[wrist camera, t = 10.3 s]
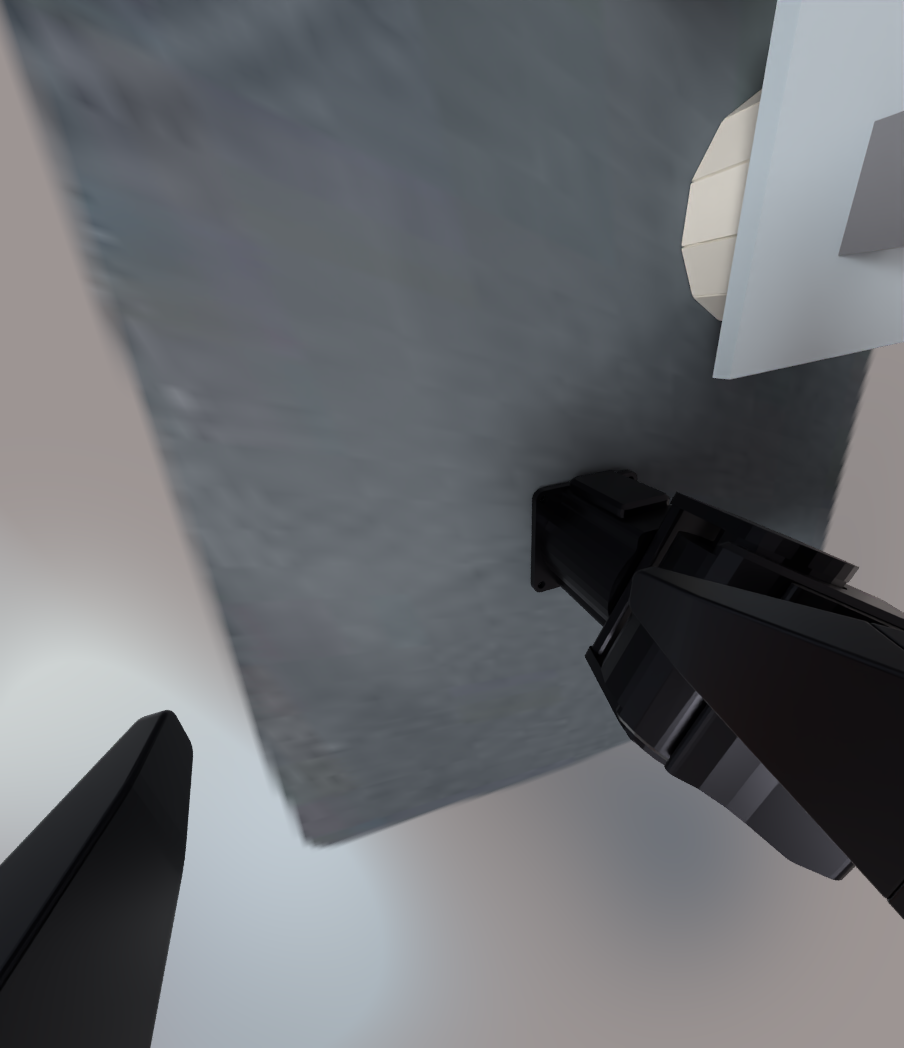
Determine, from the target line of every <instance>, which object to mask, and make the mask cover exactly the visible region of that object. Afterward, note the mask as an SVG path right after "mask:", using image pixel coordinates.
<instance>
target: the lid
mask: <svg viewBox="0 0 904 1048" xmlns="http://www.w3.org/2000/svg"><path fill="white" fill-rule="evenodd" d="M902 342H904V0H777V6H776V12H775V18H774V23H773V29H772V35H771V41H770V47H769V52H768V58H767V64H766V70H765V76H764V81H763V87H762V93H761V99H760V105H759V111H758V116H757V122H756V128H755V134H754V140H753V145H752V151H751V157H750V163H749V169H748V174H747V180H746V186H745V192H744V198H743V203H742V209H741V215H740V221H739V227H738V233H737V238H736V244H735V250H734V256H733V262H732V267H731V273H730V279H729V285H728V291H727V296H726V302H725V308H724V314H723V320H722V325H721V331H720V337H719V343H718V349H717V355H716V360H715V366H714V372H713V378H720V379H729V380H730V379H734V378H739V377H744V376H748V375H753V374H758V373H762V372H767V371H772V370H776V369H781V368H785V367H790V366H795V365H799V364H804V363H809V362H813V361H818V360H823V359H827V358H832V357H837V356H841V355H846V354H851V353H855V352H860V351H864V350H869V349H874V348H878V347H883V346H888V345H892V344H897V343H902Z"/></svg>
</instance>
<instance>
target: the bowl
mask: <svg viewBox="0 0 904 1048" xmlns="http://www.w3.org/2000/svg"><path fill="white" fill-rule="evenodd" d="M761 93H762V89H761V90H760V91H758V92H757V93H756V94H755V95H753V96H752V97H751V98H750V99H749V100H747V101H746V102H745V103H744V104H742V105H741V106H740V107H739V108H737V109H736V110H735V111H734V112H732V113H731V114H730V115H729V116H727V117H726V118H725V119H724V121H722V123H721V125H720V127H719V129H718V131H717V132H716V134H715V136H714V138H713V140H712V142H711V144H710V146H709V148H708V150H707V152H706V154H705V156H704V158H703V160H702V162H701V164H700V166H699V168H698V170H697V172H696V174H695V176H694V178H693V180H692V182H693V183H692V184H691V186H690V193H689V200H688V206H687V213H686V219H685V226H684V233H683V239H682V246H684V247H683V248H682V253H683V258H684V262H685V266H686V271H687V275H688V279H689V284H690V288H691V292H692V296H694V297H693V298H694V299H695V300H696V301H697V302H699V303H700V304H701V305H702V306H703V307H704V308H705V309H706V310H707V311H709V312H710V313H711V314H712V315H713V316H714V317H715V318H716V319H718V320H720V321H722V320H723V314H724V308H725V302H726V296H727V291H728V285H729V279H730V273H731V267H732V262H733V256H734V250H735V244H736V238H737V233H738V227H739V221H740V215H741V209H742V203H743V198H744V192H745V186H746V180H747V174H748V169H749V163H750V157H751V151H752V145H753V140H754V134H755V128H756V122H757V116H758V111H759V105H760V99H761Z"/></svg>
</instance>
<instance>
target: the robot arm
mask: <svg viewBox="0 0 904 1048" xmlns="http://www.w3.org/2000/svg"><path fill="white" fill-rule="evenodd" d="M544 495H545V497H544V499H543V500H542V501H540V499H541V497H542V496H544ZM669 499H670V498H669V497H668V496H667V495H666V494H665V493H663V492H661V491H659V490H656V489H654V488H652V487H649V486H647V485H645V484H642V483H640V482H638V481H637V475H636V473H634V472H632V471H630V470H624V471H620V472H615V471H612V470H609V471H604V472H600V473H595V474H590V475H585V476H581V477H576V478H573V479H572V480H571V481H570V482H568V483H563V484H558V485H554V486H549V487H544V488H540V489H538V490H537V491H536V492H535V493H534V494H533V498H532V545H531V586H532V587H533V588H534V590H535V591H536V592H543V591H546V590H550V589H553V588H557V587H560V586H561V587H562V588H563V589H564V590H565V591H566V592H567V593H568V594H569V595H570V596H571V597H572V598H573V599H574V600H576V601H577V602H578V603H579V604H580V605H581V606H582V607H583V608H584V609H585V610H586V611H587V612H588V613H589V614H590V615H591V616H592V617H593V618H594V619H595V620H597V621H598V622H599V623H600V624H601V625H602V626H603V628H602V630H601V632H600V634H599V635H598V637H597V639H596V641H595V642H594V644H593V646H590V647H589V649H588V651H587V652H586V654H585V658H586V660H587V662H588V664H589V666H590V667H591V669H592V671H593V673H594V675H595V677H596V679H597V681H598V683H599V685H600V687H601V689H602V690H603V692H604V694H605V696H606V698H607V700H608V702H609V704H610V706H611V708H612V710H613V712H614V713H615V715H616V717H617V719H618V721H619V722H620V724H621V726H622V727H623V729H624V730H625V731H626V733H627V735H628V736H629V738H630V739H631V740H632V741H633V742H635V743H636V744H638V745H639V746H640V747H641V748H642V749H643V750H644V751H645V752H647V753H648V754H649V755H650V756H652V757H653V758H654V759H656V760H657V761H659V762H661V763H662V764H664V765H665V766H664V767H665V769H666V770H667V771H668V772H669V773H670V774H671V775H673V776H675V777H677V778H678V779H680V780H682V781H684V782H686V783H688V784H690V785H692V786H694V787H696V788H698V789H699V790H701V791H702V792H704V793H705V794H707V795H708V796H710V797H711V798H713V799H714V800H716V801H717V802H718V803H720V804H721V805H723V806H724V807H726V808H727V809H728V810H730V811H731V812H732V813H733V814H735V815H736V816H737V817H738V818H740V819H741V820H742V821H743V822H744V823H746V824H747V825H748V826H749V827H751V828H752V829H753V830H754V831H755V832H756V833H757V834H759V835H760V836H761V837H762V838H763V839H764V840H766V841H767V842H768V843H769V844H770V845H772V846H773V847H774V848H775V849H776V850H777V851H779V852H780V853H781V854H782V855H783V856H785V857H786V858H787V859H789V860H790V861H792V862H794V863H796V864H798V865H800V866H803V867H805V868H807V869H809V870H812V871H814V872H817V873H819V874H821V875H823V876H826V877H828V878H831V879H833V880H842V879H843V878H844V877H845V876H846V875H847V874H848V873H849V872H850V871H851V870H852V869H853V868H854V867H855V866H856V867H857V868H858V869H859V870H860V871H861V873H862V874H863V875H864V876H865V877H866V878H867V879H868V880H869V881H870V882H871V883H872V885H873V886H874V887H875V888H876V889H877V890H878V891H879V892H880V893H881V894H882V896H883V897H885V898H887V901H888V902H889V904H890V905H891V906H892V907H893V908H894V909H895V910H896V911H897V913H898V914H899V915H900V916H901V917H902V918H903V919H904V613H903V612H901V611H900V610H898V609H897V608H895V607H893V606H892V605H890V604H888V603H887V602H885V601H883V600H881V599H879V598H877V597H875V596H872V595H870V594H868V593H865V592H863V591H861V590H859V589H856V588H854V587H852V586H850V585H847V584H846V583H847V582H849V581H850V579H851V578H852V577H853V576H854V574H855V573H856V571H857V570H858V569H859V567H857V566H855V565H853V564H851V563H848V562H846V561H844V560H841V559H839V558H837V557H834V556H832V555H830V554H828V553H825V552H823V551H821V550H818V549H816V548H814V547H812V546H809V545H807V544H805V543H802V542H800V541H798V540H795V539H793V538H791V537H788V536H786V535H784V534H781V533H779V532H776V531H774V530H771V529H769V528H766V527H764V526H761V525H759V524H757V523H754V522H752V521H749V520H747V519H744V518H742V517H739V516H737V515H734V514H732V513H729V512H727V511H724V510H721V509H719V508H716V507H714V506H711V505H709V504H706V503H703V502H701V501H698V500H696V499H693V498H691V497H688V496H685V495H683V494H680V493H678V492H676V494H675V496H674V497H673V499H672V501H671V504H672V506H671V505H669ZM540 582H541V584H539V583H540ZM538 584H539V585H538ZM192 762H193V749H192V745H191V742H190V740H189V738H188V736H187V734H186V732H185V731H184V729H183V727H182V725H181V724H180V722H179V720H178V718H177V716H176V715H175V714H174V713H173V712H172V711H170V710H165V711H161V712H158V713H155V714H151V715H148V716H144V717H142V718H140V719H139V720H138V721H137V722H135V723H134V724H133V725H132V727H131V728H130V729H129V730H128V731H127V732H126V733H125V734H124V735H123V736H122V737H121V738H120V739H119V740H118V741H117V742H116V743H115V744H114V746H113V747H112V748H111V749H110V750H109V751H108V752H107V753H106V754H105V755H104V756H103V757H102V758H101V759H100V760H99V761H98V762H97V763H96V765H95V766H94V767H93V768H92V769H91V770H90V771H89V772H88V773H87V774H86V775H85V776H84V777H83V778H82V779H81V780H80V781H79V782H78V784H77V785H76V786H75V787H74V788H73V789H72V790H71V791H70V792H69V793H68V794H67V795H66V796H65V797H64V798H63V799H62V801H60V802H59V804H58V805H57V806H56V807H55V808H54V809H53V810H52V811H51V812H50V813H49V814H48V815H47V816H46V817H45V818H44V819H43V820H42V822H41V823H40V824H39V825H38V826H37V827H36V828H35V829H34V830H33V831H32V832H31V833H30V834H29V835H28V836H27V837H26V838H25V839H24V840H23V842H22V843H21V844H20V845H19V846H18V847H17V848H16V849H15V850H14V851H13V852H12V853H11V854H10V855H9V856H8V857H7V858H6V859H5V860H4V862H3V863H2V864H1V865H0V1048H150V1046H151V1041H152V1036H153V1030H154V1024H155V1019H156V1014H157V1009H158V1003H159V998H160V992H161V986H162V981H163V976H164V971H165V965H166V960H167V954H168V949H169V944H170V938H171V933H172V927H173V922H174V916H175V911H176V906H177V900H178V895H179V890H180V884H181V879H182V873H183V866H184V860H185V851H186V840H187V826H188V814H189V800H190V788H191V775H192Z"/></svg>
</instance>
